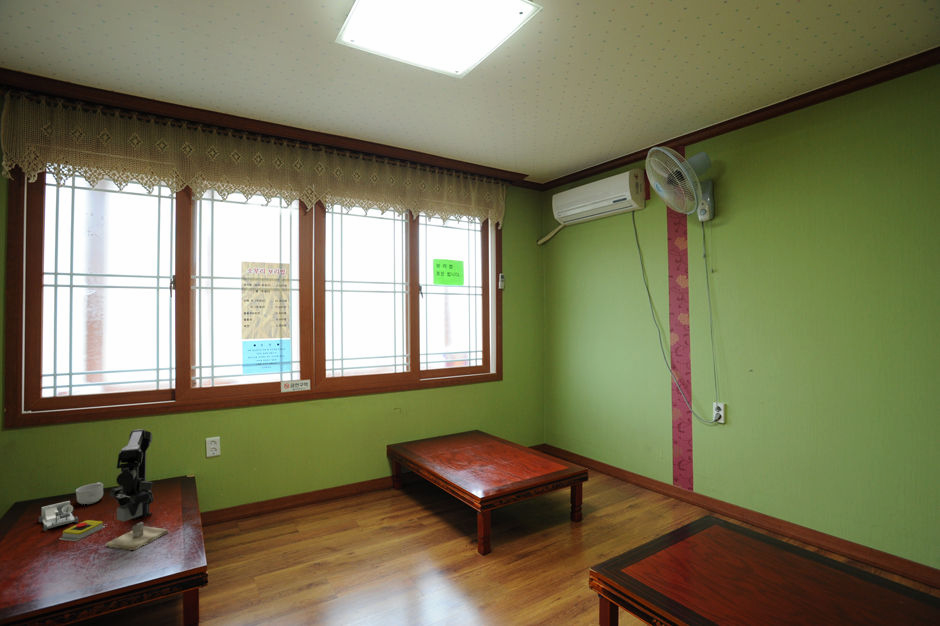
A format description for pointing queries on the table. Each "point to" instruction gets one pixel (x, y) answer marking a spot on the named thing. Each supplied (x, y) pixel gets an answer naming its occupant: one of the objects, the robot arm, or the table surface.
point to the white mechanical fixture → (57, 515)
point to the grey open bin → (127, 512)
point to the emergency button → (81, 530)
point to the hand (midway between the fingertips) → (129, 514)
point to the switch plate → (137, 537)
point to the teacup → (89, 493)
